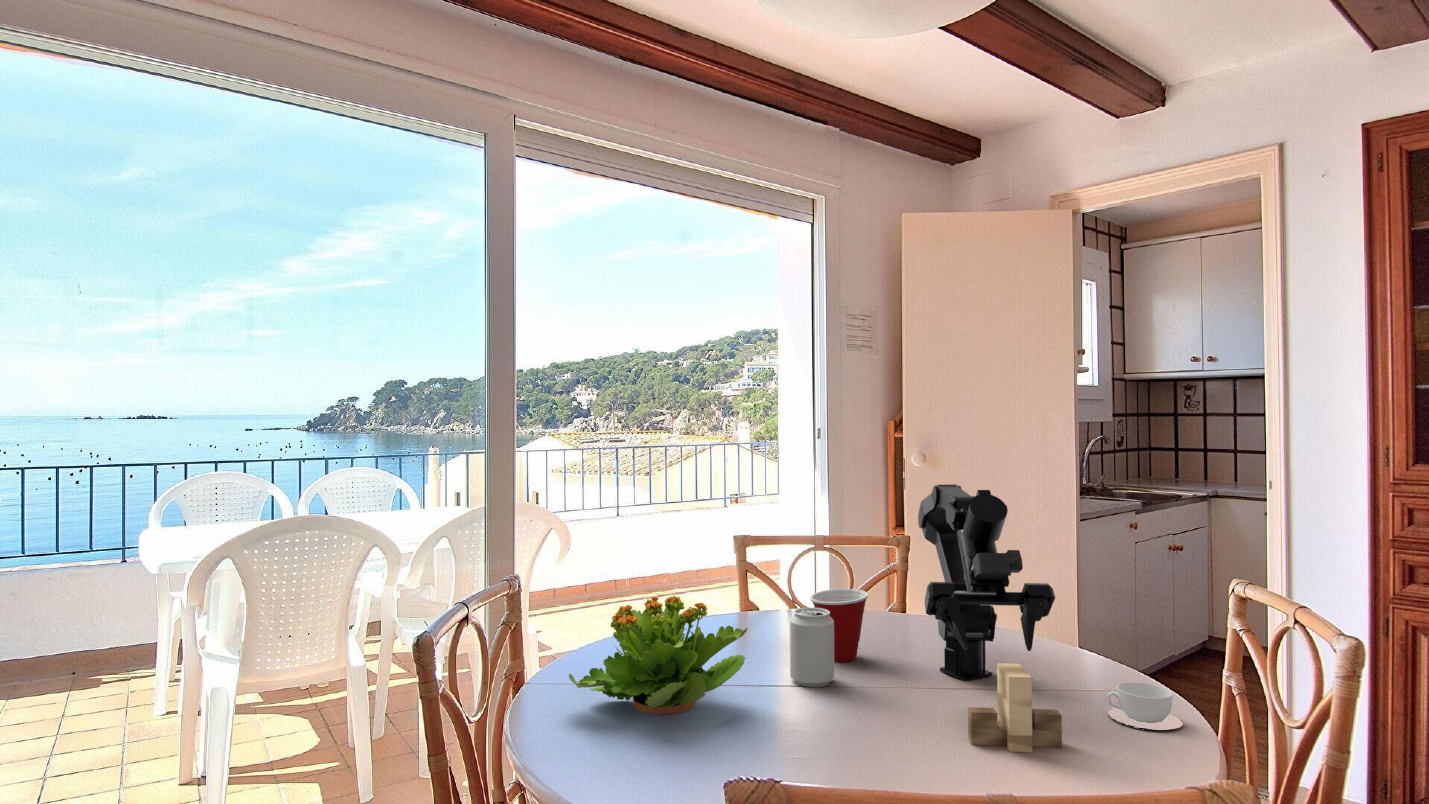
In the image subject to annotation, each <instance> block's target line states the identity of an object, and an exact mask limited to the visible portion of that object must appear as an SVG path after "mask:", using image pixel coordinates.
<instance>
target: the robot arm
mask: <svg viewBox="0 0 1429 804" xmlns="http://www.w3.org/2000/svg"><path fill="white" fill-rule="evenodd" d="M1008 512H1009V511H1008V505H1007V504H1006V503H1005V502H1004V500H1002V499H1001V498H999V497H997V496H995V495H993V494H992V492H991V490H990V489H977V491H976V495H974V496H973V495H970V494H969V493H967V492H966V490H963V489H962V486H961V485H958V484H936V485H933V488H932V491H931V492H930V494H928V495H927V496H926V497H924V498H923V499H922V500H921V501H920V504H919V509H918V515H917V522H918V528H919V529H921V531H922V534H923V537H924V539H925V540H927V541H928V542H930V543H931V544H932V545H934V546H935V549H936V553H937V557H938V561H939V564H940V568H941V571H942V576H943V579H944V581H930V582H929V583H928V584H927V586H926V590H925V591H926V592H925V597H924V608H925V614H926V615H928V616H934V617H935V618H934V619H935V620H938V621H937V625H938V626H937V627H938V636H940V638H941V639H942V640H943V642H945V646H944V648H943V649H944V652H943V653H944V654H943V655H944V656H943V657H944V666H941V667H940V668H939V672H942V673H945V674H947V675H950V676H952V677H955V678H957V679H959V680H963V681H972V680H976V679H980V678H986V677H991V676H993V671H990V670H987V669H986V642H994V639H995V632H996V623H997V620H998V615H997V613H996V612H995V608H994V606H1002V607H1003V606H1006V607H1007V606H1008V607H1009V606H1010V607H1011V606H1015V607H1017V606H1018V607H1019V610H1020V613H1021V616H1020V623H1021V629H1022V634H1023V640H1024V644H1025V647H1026V649H1027V652H1031V651H1032V648H1033V644H1034V643H1033V642H1034V635H1035V627H1036V622H1040V621H1042V618H1045V617H1048V616H1049V615H1050V613H1051V610H1052V607H1053V604H1054V602H1055V599H1056V595H1055V591H1054V588H1053V587H1052V586H1051V585H1050V584H1048V583H1047V582H1046V583H1043V582H1042V583H1040V582H1039V583H1038V582H1037V583H1036V582H1035V583H1034V582H1025V583H1024V584H1023V586H1022V589H1021V591H1020V592H1019V591H1014V592H1013V591H1007V590H1006V588H1009V585H1010V579H1009V578H1010V576H1012V574H1019V573H1020V572H1021V571H1022V570H1023V568H1024V567H1023V566H1024V565H1023V557H1022V554H1021V552H1020V550H1019V549H1008V550H1006V552H998V548H997V544H996V541H998V540H999V539H1000V537H1001V535H1002V531H1003V528H1004V525H1005V522H1006V519H1007V515H1008Z"/></svg>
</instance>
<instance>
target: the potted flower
mask: <svg viewBox="0 0 1429 804" xmlns="http://www.w3.org/2000/svg"><path fill="white" fill-rule="evenodd" d="M658 600H659V597H657V596H650V599H649V598H647V599H646V601H645V603H643V604H644V606H645V609H643V611H642V612H641V610H640V609H639V610H636V609H633V606H632V605H631V604H626V605H625V606H623V605H621V606H620V605H619V608H618V609H617V612H615V614H614V615H612V616H611V617H610V618H611V622H610V625H609V626H610V628H613V630H615V631H614V632H613V633H612V635H613V637H614V639H615V640H616V642H618V643H619V644H618V645H619V647H620V648H621V650H620V649H619V648H618V647H617V646H615V647H614V648H615V649H616V650H617V651H615V653H614V654H613V656H611V655H607V658H605V659H604V660H603V666H605V671H604V669H603V668H602V667H599V668H598V667H592V668H590V669H589V673H588V674H586V675H584V676H583V677H582V678H581V679H579V681H577V680H576V679H575V677H574V676H573V674H572V673H569V674H568V678H569V681H571V682H572V683H573V684H574V685H575V686H576V688H578V689H581V688H590V689H589V691H592V692H593V691H594V692H596V691H597V692H602V694H603V695H606V696H608V698H615V697H616V699H617V700H621V701H622V700H624V699H625V700H626V701H629V700H631V698H632V700H633V705H634V708H635V709H637V711H639V712H641V713H644V714H652V715H655V716H656V715H658V716H660V715H676V714H680V713H685V712H686V711H688V710H689V711H690V710H691V709H692V708H693V707H694V706H695V703H696V701H698V700H700V699H702V698H703V697H705V695H706V693H708V692H711V691H714V690H715V689H717V688H719V687H720V686H722V685H723V684H724V683H726V682H727V681H728V680H730V679H732V677H733V676H735V674H737V672H739V671H740V670H741V669H742V667H743V665H744V663H745V656H744V655H742V654H736V655H730V656H728V657H727V658H726V657H724V658H723V659H722V660H721V661H717V662H716V663H715V664H714V665H710V666H709V668H708V669H707V670H705V669H703V666H704V665H705V664H706V663H707V662H708V661H709V660H710V659H712V658H713V657H714V656H715V655H717V654H718V653H719V652H720V651H722V650H723V649H725V648H726V647H727V646H729V645H731V644H732V643H734V642H736V641H737V640H738V639H740V638H741V637H743V636H744V635H745V633H747V631H748V627H746V628H745V629H742V628H736V629H734V627H733V626H732V625H727V626H726V627H724V626H723V625H721V626H719V628H718V631H717V632H716V635H715V633H713V632H710V633H708V634H707V635H706V637H705V634H704V633H703V632H702V629H701V627H700V626H699V624H700V621H701V620H702V619H703V617H707V614H708V612H707V611H708V607H707V604H705V603H704V602H698V603H694V604H693V605H694V607H692V606H688V608H687V609H685V608H686V606H684V605H685V603H684V601H682V599H681V597H679V596H676V595H673V596H669V597H666V598H665V599H664V604H663V603H661V602H659V601H658ZM663 605H664V606H665V608H664V610H663V608H662V607H663ZM682 610H684V611H682ZM680 611H682V613H680ZM695 621H696V622H697V623H696V626H695V629H694V632H693V631H692V630H691V629H692V628H693V627H694V624H692V623H693V622H695ZM686 624H688V625H687V626H688V628H685V626H686ZM685 630H687V631H686V634H685V632H684V631H685ZM690 634H691V635H690ZM689 635H690V636H689ZM621 651H622V652H621Z"/></svg>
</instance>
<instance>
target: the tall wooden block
mask: <svg viewBox="0 0 1429 804" xmlns="http://www.w3.org/2000/svg"><path fill="white" fill-rule="evenodd" d="M996 666H997V667H996V671H997V673H996V674H997V675H996V679H997V686H996V687H997V689H996V691H997V692H996V693H997V696H996V697H997V698H996V699H997V724H1002V726H1003V727H1004V729H1005V730H1006V731H1007V746H1006V747H1007V750H1008V752H1010V753H1033V747H1032V709H1033V696H1032V692H1033V691H1032V690H1033V689H1032V687H1033V686H1032V684H1033V683H1032V679H1033V678H1032V676H1031V675H1030V674H1029V673H1028V672H1027V670H1025V669H1024V668H1023V667H1022V665H1021V664H1020V663H1002V662H1000V663H996Z"/></svg>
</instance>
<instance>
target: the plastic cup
mask: <svg viewBox="0 0 1429 804" xmlns="http://www.w3.org/2000/svg"><path fill="white" fill-rule="evenodd" d="M868 597H869V595H868V592H867V591H865V590H862V589H856V588H833V589H826V590H820V591H818V592H813V593H812V594H811V595H809V599H810V601H811V602H812V604H813V608H822V609H826V610H828V611H830V614H829V616H830V617H831V618H832V619H833V620H834V662H838V663H847V662H852V661H855V660H857V656H858V650H859V643H860V640H861V631H862V625H863V618H864V617H863V616H864V611H865V606H866V601H867V599H868Z"/></svg>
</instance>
